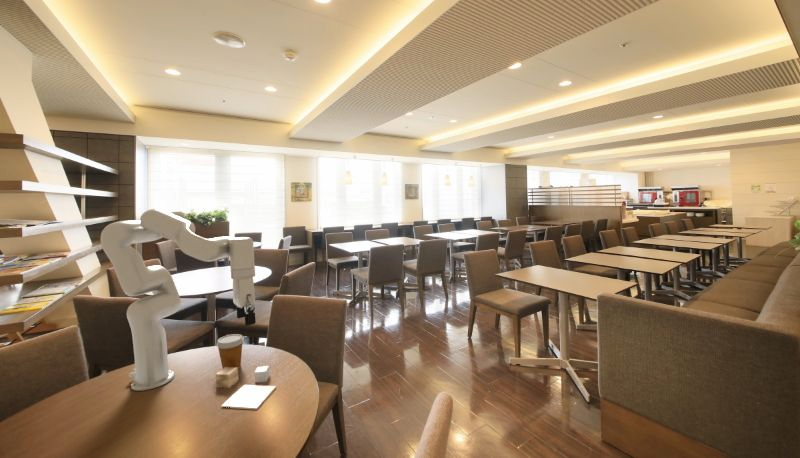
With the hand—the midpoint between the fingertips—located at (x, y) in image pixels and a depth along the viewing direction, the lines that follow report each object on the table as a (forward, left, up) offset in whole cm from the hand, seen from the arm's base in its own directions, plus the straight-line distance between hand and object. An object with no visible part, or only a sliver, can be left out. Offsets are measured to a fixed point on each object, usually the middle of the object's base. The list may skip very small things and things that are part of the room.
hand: (246, 320), depth 113 cm
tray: (+4, -7, -24) cm, 25 cm away
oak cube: (-9, 0, -24) cm, 26 cm away
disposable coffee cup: (-15, +11, -24) cm, 31 cm away
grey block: (+2, +4, -24) cm, 24 cm away
